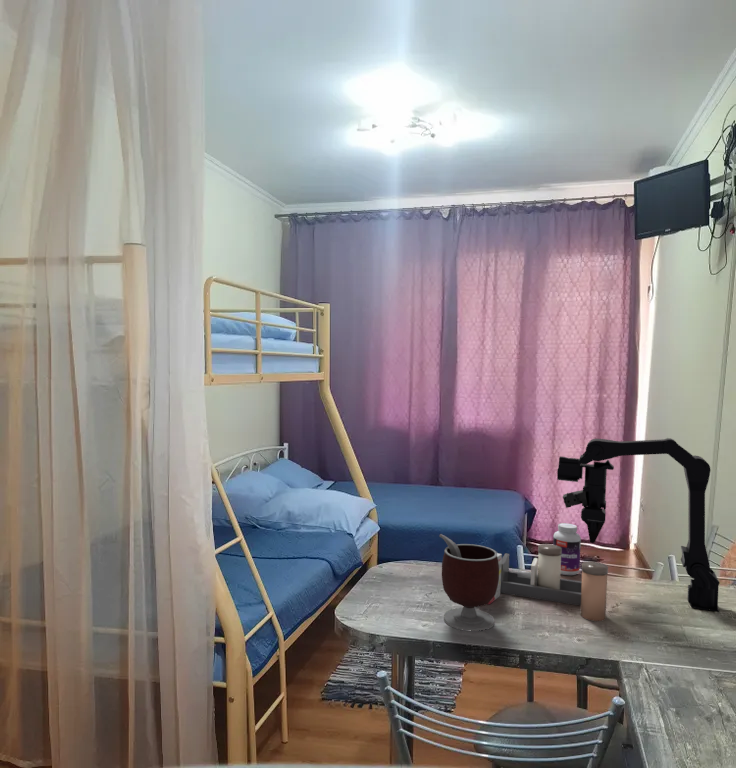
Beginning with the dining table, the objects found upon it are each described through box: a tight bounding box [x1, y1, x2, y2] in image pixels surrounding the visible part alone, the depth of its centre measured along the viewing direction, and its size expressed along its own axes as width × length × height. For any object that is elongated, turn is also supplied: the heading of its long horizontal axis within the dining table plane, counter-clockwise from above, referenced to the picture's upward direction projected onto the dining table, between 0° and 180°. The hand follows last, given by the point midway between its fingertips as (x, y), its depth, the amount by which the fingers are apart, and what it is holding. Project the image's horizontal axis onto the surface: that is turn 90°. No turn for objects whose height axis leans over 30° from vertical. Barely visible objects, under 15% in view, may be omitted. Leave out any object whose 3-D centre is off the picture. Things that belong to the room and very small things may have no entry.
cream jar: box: [537, 543, 562, 590], centre depth 170 cm, size 6×6×13 cm
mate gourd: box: [439, 533, 499, 632], centre depth 151 cm, size 16×14×20 cm
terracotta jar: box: [580, 561, 609, 622], centre depth 155 cm, size 6×6×13 cm
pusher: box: [516, 557, 538, 586], centre depth 172 cm, size 5×7×8 cm
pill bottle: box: [552, 522, 582, 576], centre depth 188 cm, size 8×8×14 cm
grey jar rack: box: [500, 553, 582, 607], centre depth 170 cm, size 25×10×8 cm, turn 68°
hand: (592, 538), depth 173 cm, fingers open, 9 cm apart
